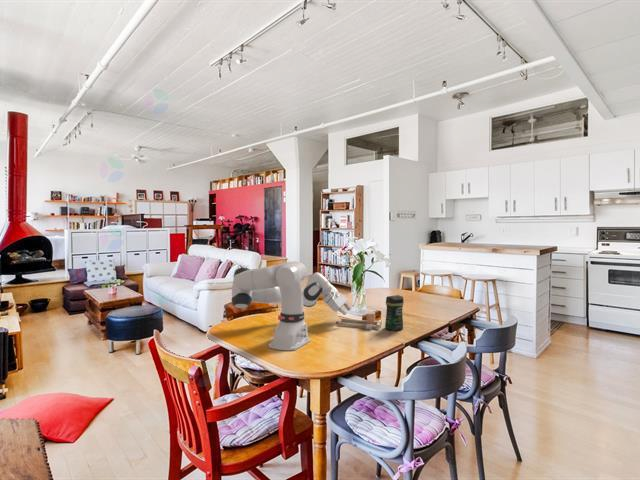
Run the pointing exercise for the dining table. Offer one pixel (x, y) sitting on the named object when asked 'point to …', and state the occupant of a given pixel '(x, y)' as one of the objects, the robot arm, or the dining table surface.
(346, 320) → the comb track
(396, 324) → the coffee jar
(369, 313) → the marker sleeve
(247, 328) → the dining table surface
